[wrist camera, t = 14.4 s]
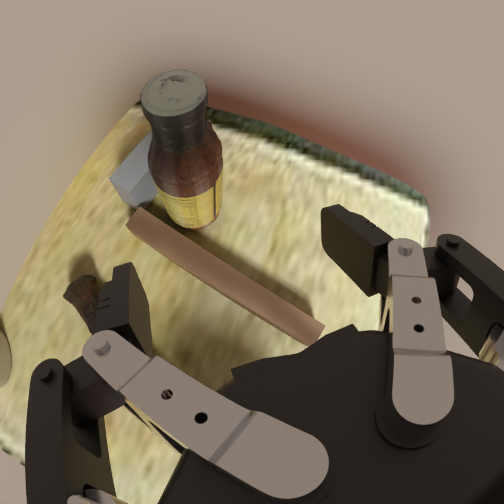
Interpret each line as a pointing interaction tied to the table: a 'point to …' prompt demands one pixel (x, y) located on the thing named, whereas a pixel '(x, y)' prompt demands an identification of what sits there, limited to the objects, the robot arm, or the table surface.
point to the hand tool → (84, 299)
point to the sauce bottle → (183, 148)
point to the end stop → (135, 177)
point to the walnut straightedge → (225, 278)
